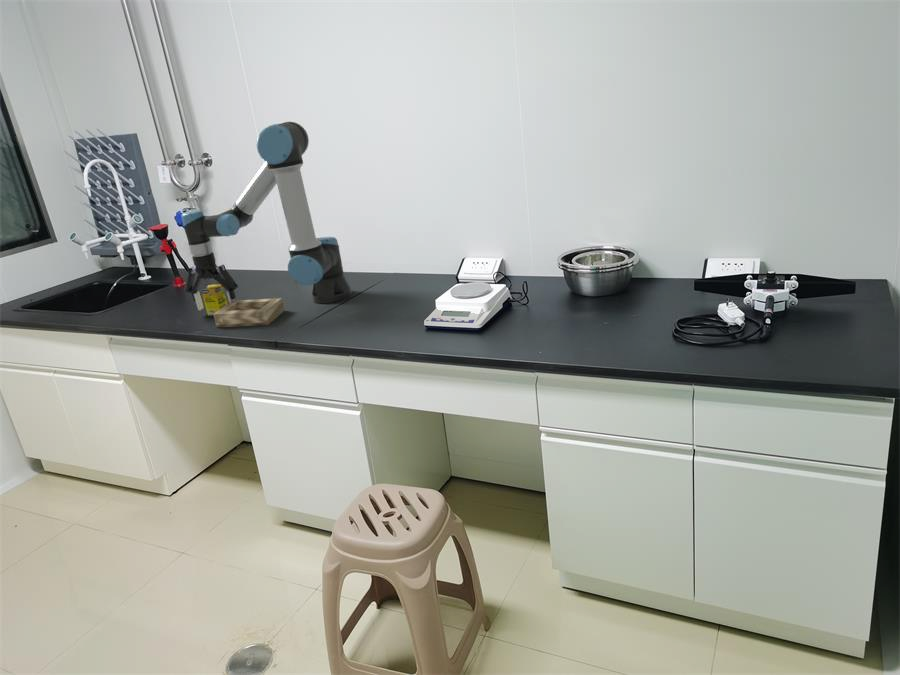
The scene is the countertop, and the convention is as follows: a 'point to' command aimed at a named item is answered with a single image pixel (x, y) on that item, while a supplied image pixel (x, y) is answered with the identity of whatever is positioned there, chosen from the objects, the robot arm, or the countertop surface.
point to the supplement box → (214, 298)
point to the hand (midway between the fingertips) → (217, 308)
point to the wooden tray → (249, 312)
